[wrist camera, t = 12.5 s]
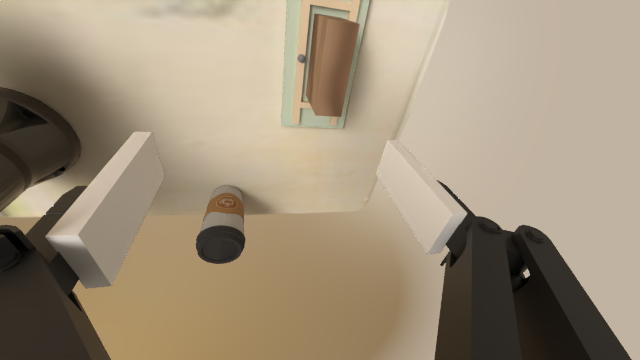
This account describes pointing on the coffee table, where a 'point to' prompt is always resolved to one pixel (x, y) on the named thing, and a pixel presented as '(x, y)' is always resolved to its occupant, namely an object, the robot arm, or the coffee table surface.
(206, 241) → the coffee cup
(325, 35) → the brown wooden picture frame
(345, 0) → the mint cabinet door
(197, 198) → the coffee table surface
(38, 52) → the coffee table surface
